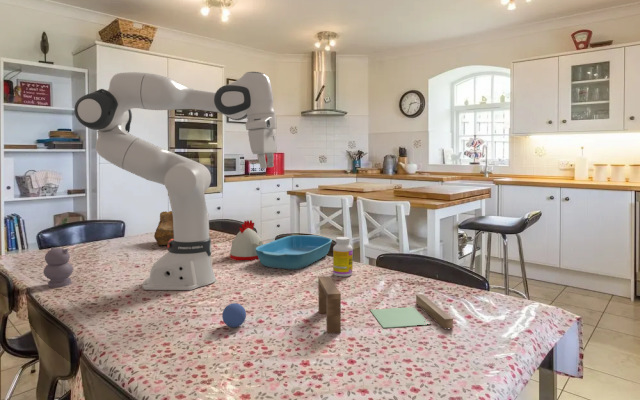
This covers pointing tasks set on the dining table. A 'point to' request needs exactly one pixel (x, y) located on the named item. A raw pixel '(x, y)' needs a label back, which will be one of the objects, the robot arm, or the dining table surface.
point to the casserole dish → (293, 251)
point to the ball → (234, 315)
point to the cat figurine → (58, 267)
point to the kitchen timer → (245, 243)
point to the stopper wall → (434, 311)
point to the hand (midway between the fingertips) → (267, 167)
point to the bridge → (330, 303)
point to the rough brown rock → (164, 228)
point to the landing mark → (398, 317)
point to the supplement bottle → (342, 257)
